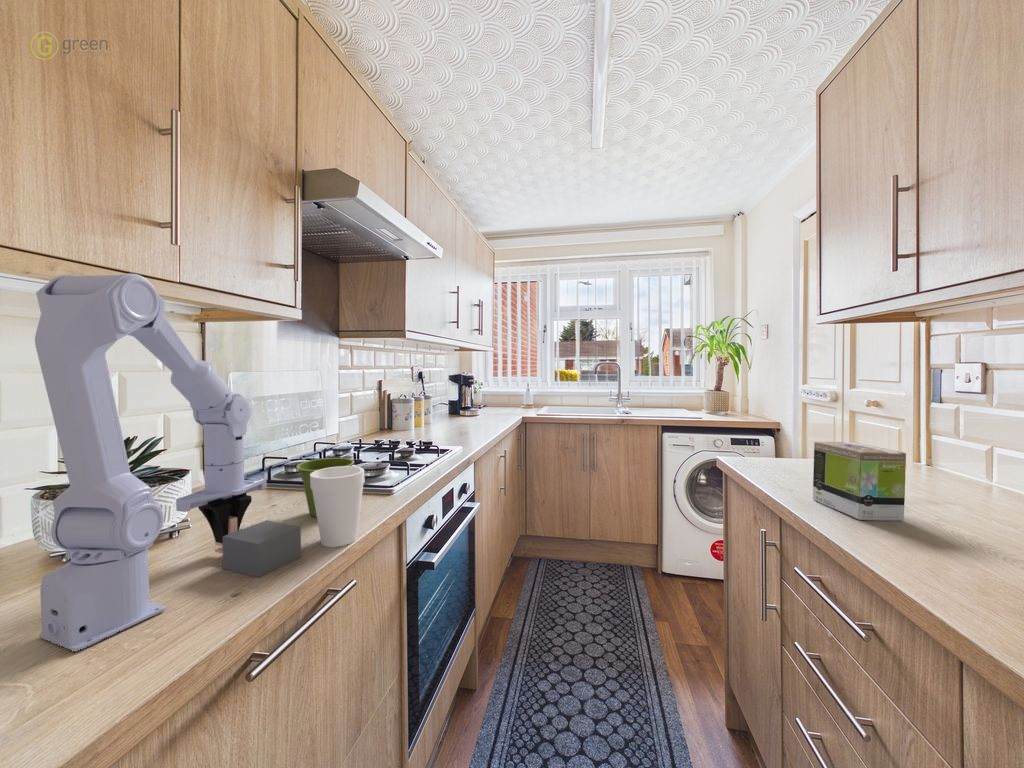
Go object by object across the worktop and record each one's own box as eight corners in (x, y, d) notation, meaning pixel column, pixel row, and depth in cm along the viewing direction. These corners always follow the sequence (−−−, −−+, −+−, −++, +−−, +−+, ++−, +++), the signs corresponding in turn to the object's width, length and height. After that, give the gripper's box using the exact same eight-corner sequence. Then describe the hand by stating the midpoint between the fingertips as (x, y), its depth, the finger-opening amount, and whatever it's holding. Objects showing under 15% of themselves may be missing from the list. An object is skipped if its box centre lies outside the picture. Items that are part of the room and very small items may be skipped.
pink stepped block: (250, 560, 70) (249, 527, 70) (207, 550, 74) (206, 519, 74) (272, 550, 74) (271, 519, 74) (229, 541, 78) (229, 511, 78)
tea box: (906, 521, 91) (908, 452, 91) (858, 521, 92) (860, 452, 91) (852, 500, 106) (853, 440, 106) (810, 499, 107) (812, 440, 106)
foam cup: (306, 553, 76) (304, 480, 75) (316, 533, 85) (315, 467, 84) (363, 547, 78) (362, 476, 77) (367, 528, 87) (366, 464, 86)
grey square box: (258, 577, 67) (257, 543, 67) (223, 568, 70) (222, 536, 70) (301, 556, 74) (300, 526, 74) (267, 549, 77) (266, 520, 77)
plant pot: (292, 511, 98) (291, 462, 97) (346, 501, 105) (345, 455, 105) (304, 526, 88) (303, 472, 88) (362, 514, 96) (361, 464, 95)
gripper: (195, 474, 66) (198, 560, 67) (277, 456, 80) (279, 528, 80) (166, 470, 69) (169, 553, 70) (251, 453, 83) (252, 523, 83)
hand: (226, 540), depth 75 cm, fingers closed on pink stepped block
